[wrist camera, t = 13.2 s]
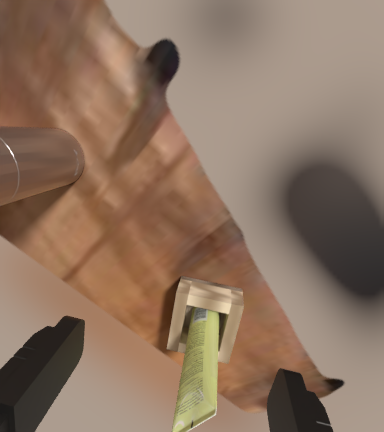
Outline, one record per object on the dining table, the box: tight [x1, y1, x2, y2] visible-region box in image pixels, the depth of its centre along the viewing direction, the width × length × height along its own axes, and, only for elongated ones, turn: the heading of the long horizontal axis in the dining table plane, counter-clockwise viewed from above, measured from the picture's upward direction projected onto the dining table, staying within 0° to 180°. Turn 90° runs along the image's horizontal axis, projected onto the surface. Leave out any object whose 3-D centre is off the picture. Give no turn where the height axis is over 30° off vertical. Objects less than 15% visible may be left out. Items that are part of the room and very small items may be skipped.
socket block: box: [167, 276, 244, 364], centre depth 46 cm, size 11×12×5 cm
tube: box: [172, 307, 219, 432], centre depth 38 cm, size 6×5×20 cm
